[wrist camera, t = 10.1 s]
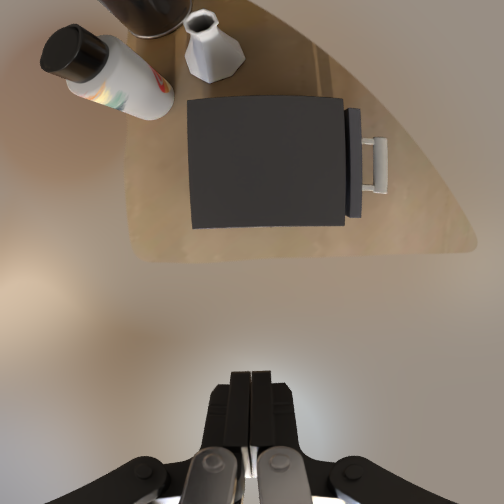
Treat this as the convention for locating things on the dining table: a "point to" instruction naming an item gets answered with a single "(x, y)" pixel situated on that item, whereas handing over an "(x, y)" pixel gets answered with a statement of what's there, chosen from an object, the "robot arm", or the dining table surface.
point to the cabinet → (266, 161)
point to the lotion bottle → (107, 72)
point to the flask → (210, 48)
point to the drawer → (355, 163)
